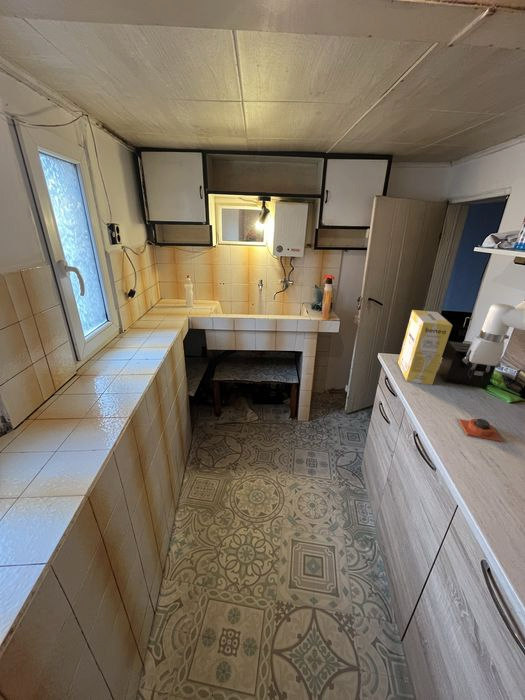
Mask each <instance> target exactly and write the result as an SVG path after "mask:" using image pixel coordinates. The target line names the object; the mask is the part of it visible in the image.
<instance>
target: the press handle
mask: <svg viewBox="0 0 525 700" xmlns="http://www.w3.org/2000/svg"><path fill="white" fill-rule="evenodd" d="M469 368H470V367H469ZM483 373H484V372H483V371H482V370H481V368H480V367H479V366H478V365H476V367H475V373H474V375H479V376H483Z"/></svg>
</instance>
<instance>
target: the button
mask: <svg viewBox="0 0 525 700" xmlns="http://www.w3.org/2000/svg"><path fill="white" fill-rule="evenodd" d="M476 419H477V420H476V423H475V425H476V426H477V427H479V428H482V429H486V430H487V429H488V428H489V426H490V425H491V423H490V422H489V421H488V420H486V419H484V418H476Z"/></svg>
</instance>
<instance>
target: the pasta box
mask: <svg viewBox="0 0 525 700" xmlns="http://www.w3.org/2000/svg"><path fill="white" fill-rule="evenodd" d="M452 328H453V324H452V323H451V322H450V321H448V319H446V317H444V316H442V314H440V313H439V312H438V311H431V310H430V311H428V310H420V309H419V310H418V309H412V310H411V313H410V317H409V321H408V323H407V327H406V331H405V335H404V339H403V342H402V347H401V350H400V353H399V357H398V361H397V364H398V366H399V369H400V370H401V373H402V375H403V377H404V380H405V381H406V382H410V383H418V384H423V385H424V384H425V385H432V386H433V383H434V381H435V379H436V375H437V372H438V370H439V367H440V364H441V361H442V358H443V355H444V353H445V350H446V347H447V344H448V341H449V337H450V334H451V331H452Z"/></svg>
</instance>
